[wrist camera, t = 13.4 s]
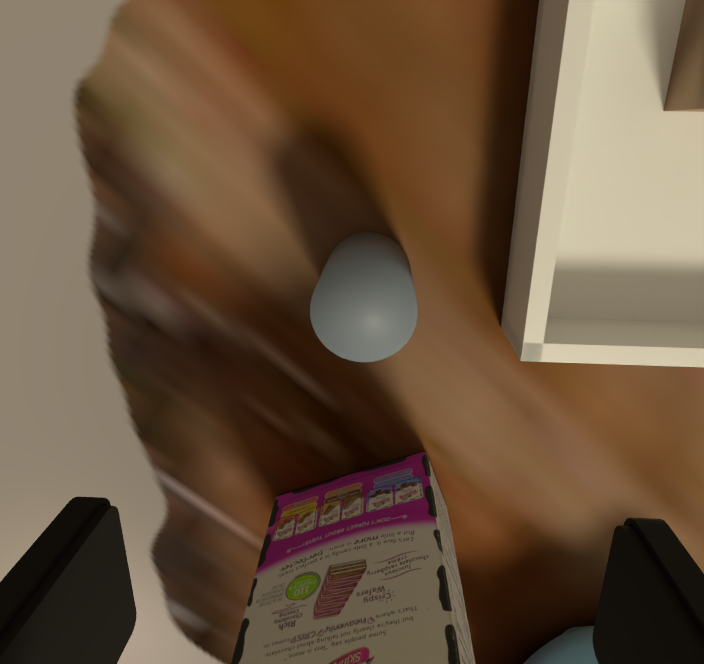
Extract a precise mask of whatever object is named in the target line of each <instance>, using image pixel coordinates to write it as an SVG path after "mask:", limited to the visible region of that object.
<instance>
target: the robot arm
mask: <svg viewBox="0 0 704 664" xmlns="http://www.w3.org/2000/svg"><path fill="white" fill-rule="evenodd" d="M135 622H136V607H135V602H134V596H133V590H132V585H131V579H130V573H129V568H128V563H127V556H126V551H125V545H124V540H123V534H122V529H121V523H120V518H119V512H118V509H117V508H116V507H115V506H111V505H110V502H109V500H108V499H106V498H97V497H96V498H95V497H75V498H73V499H72V500H71V501H69V503H68V504H67V505H66V506H65V507H64V508H63V510H62V511H61V512H60V513H59V514H58V515H57V517H56V518H55V519H54V520H53V521H52V522H51V524H50V525H49V526H48V527H47V528H46V529H45V531H44V532H43V533H42V534H41V535H40V536H39V538H38V539H37V540H36V541H35V542H34V543H33V545H32V546H31V547H30V548H29V549H28V550H27V552H26V553H25V554H24V555H23V556H22V557H21V559H20V560H19V561H18V562H17V563H16V564H15V566H14V567H13V568H12V569H11V570H10V571H9V573H8V574H7V575H6V576H5V577H4V578H3V580H2V581H1V582H0V664H117V662H118V660H119V658H120V656H121V654H122V652H123V650H124V648H125V646H126V644H127V642H128V640H129V638H130V636H131V634H132V632H133V629H134V626H135ZM592 639H593V648H594V653H595V656H596V659H597V661H598V664H704V574H703V572H702V571H701V570H700V568H699V567H698V565H697V564H696V563H695V561H694V560H693V559H692V557H691V556H690V554H689V553H688V552H687V550H686V549H685V548H684V546H683V545H682V544H681V542H680V541H679V539H678V538H677V537H676V535H675V534H674V533H673V531H672V530H671V528H670V527H669V526H668V524H667V523H666V522H665V521H664V520H661V519H646V518H628V519H626V521H625V522H624V525H623V526H617V527H616V528H615V531H614V535H613V539H612V544H611V549H610V554H609V558H608V563H607V568H606V573H605V577H604V582H603V587H602V592H601V596H600V601H599V606H598V611H597V615H596V620H595V625H594V630H593V636H592Z"/></svg>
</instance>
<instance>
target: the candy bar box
mask: <svg viewBox="0 0 704 664" xmlns="http://www.w3.org/2000/svg"><path fill="white" fill-rule="evenodd" d="M231 664H476V663H475V657H474V652H473V647H472V641H471V635H470V630H469V625H468V620H467V614H466V608H465V602H464V597H463V591H462V585H461V580H460V575H459V570H458V565H457V559H456V553H455V548H454V543H453V537H452V531H451V527H450V522H449V516H448V511H447V507H446V504H445V502H444V499H443V496H442V493H441V491H440V488H439V486H438V483H437V480H436V478H435V475H434V472H433V469H432V467H431V464H430V461H429V458H428V456H427V454H426V452H421V453H417V454H414V455H411V456H408V457H404V458H401V459H398V460H395V461H391V462H388V463H385V464H382V465H379V466H376V467H372V468H369V469H366V470H363V471H359V472H356V473H353V474H350V475H347V476H344V477H340V478H337V479H334V480H330V481H327V482H324V483H320V484H317V485H314V486H310V487H307V488H304V489H300V490H297V491H294V492H290V493H287V494H284V495H280V496H277V497H276V498H275V503H274V507H273V509H272V513H271V517H270V521H269V525H268V529H267V532H266V536H265V540H264V544H263V547H262V551H261V554H260V559H259V562H258V566H257V570H256V573H255V577H254V581H253V585H252V589H251V593H250V597H249V600H248V604H247V607H246V610H245V614H244V618H243V621H242V625H241V629H240V632H239V636H238V640H237V643H236V647H235V650H234V654H233V658H232V662H231Z"/></svg>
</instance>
